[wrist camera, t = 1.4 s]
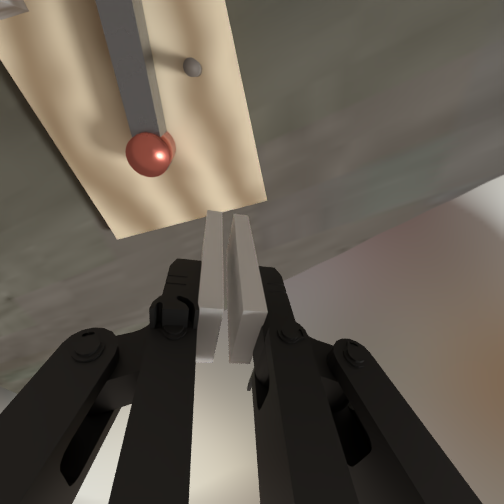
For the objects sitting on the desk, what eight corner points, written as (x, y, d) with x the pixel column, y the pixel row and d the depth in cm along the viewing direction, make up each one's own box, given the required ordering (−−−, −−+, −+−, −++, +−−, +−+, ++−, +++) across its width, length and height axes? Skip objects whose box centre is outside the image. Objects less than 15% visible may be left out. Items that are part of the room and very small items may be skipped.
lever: (129, -109, 17) (106, -158, 13) (178, 163, 27) (172, 176, 23) (72, -111, 16) (32, -162, 13) (143, 165, 26) (132, 178, 23)
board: (163, -280, 15) (127, -507, 9) (264, 194, 32) (274, 219, 26) (-130, -175, 16) (-334, -321, 10) (122, 231, 33) (101, 263, 27)
